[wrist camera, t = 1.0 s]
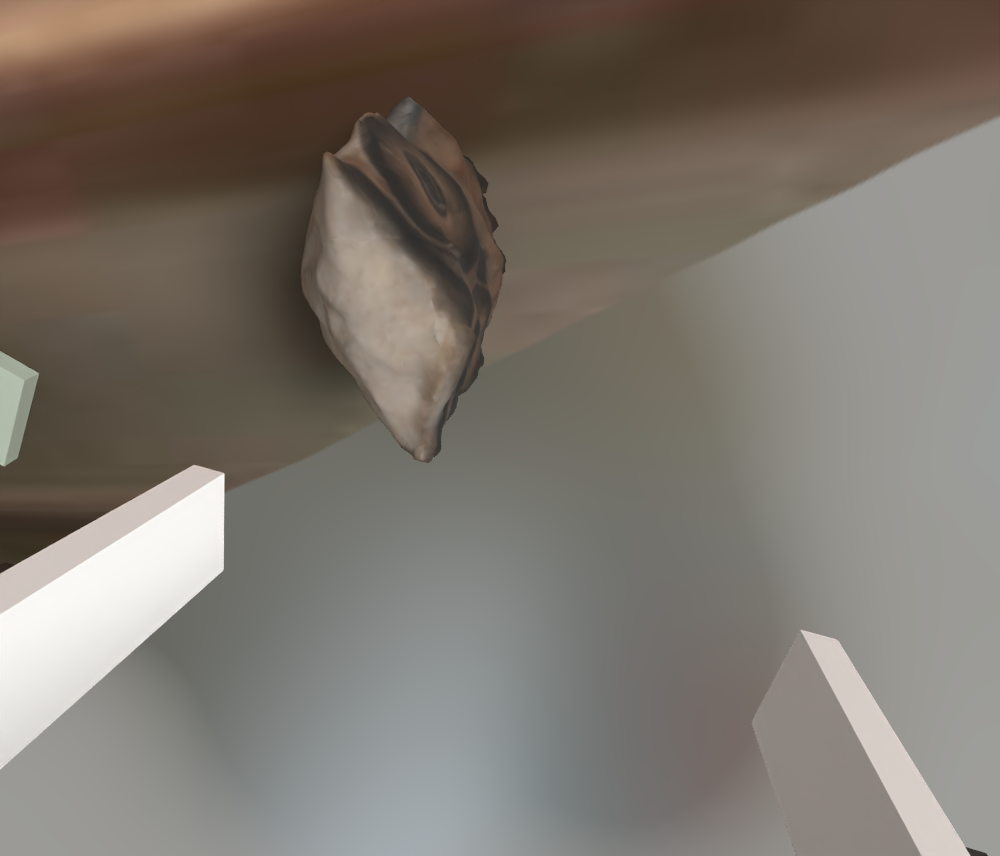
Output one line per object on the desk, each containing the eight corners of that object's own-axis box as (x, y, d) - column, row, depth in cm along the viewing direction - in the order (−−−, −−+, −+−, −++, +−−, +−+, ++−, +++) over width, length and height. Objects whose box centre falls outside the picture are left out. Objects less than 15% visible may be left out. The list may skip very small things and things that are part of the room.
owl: (424, 92, 33) (276, 59, 16) (573, 223, 36) (584, 313, 19) (333, 252, 39) (152, 354, 22) (468, 353, 42) (403, 513, 25)
